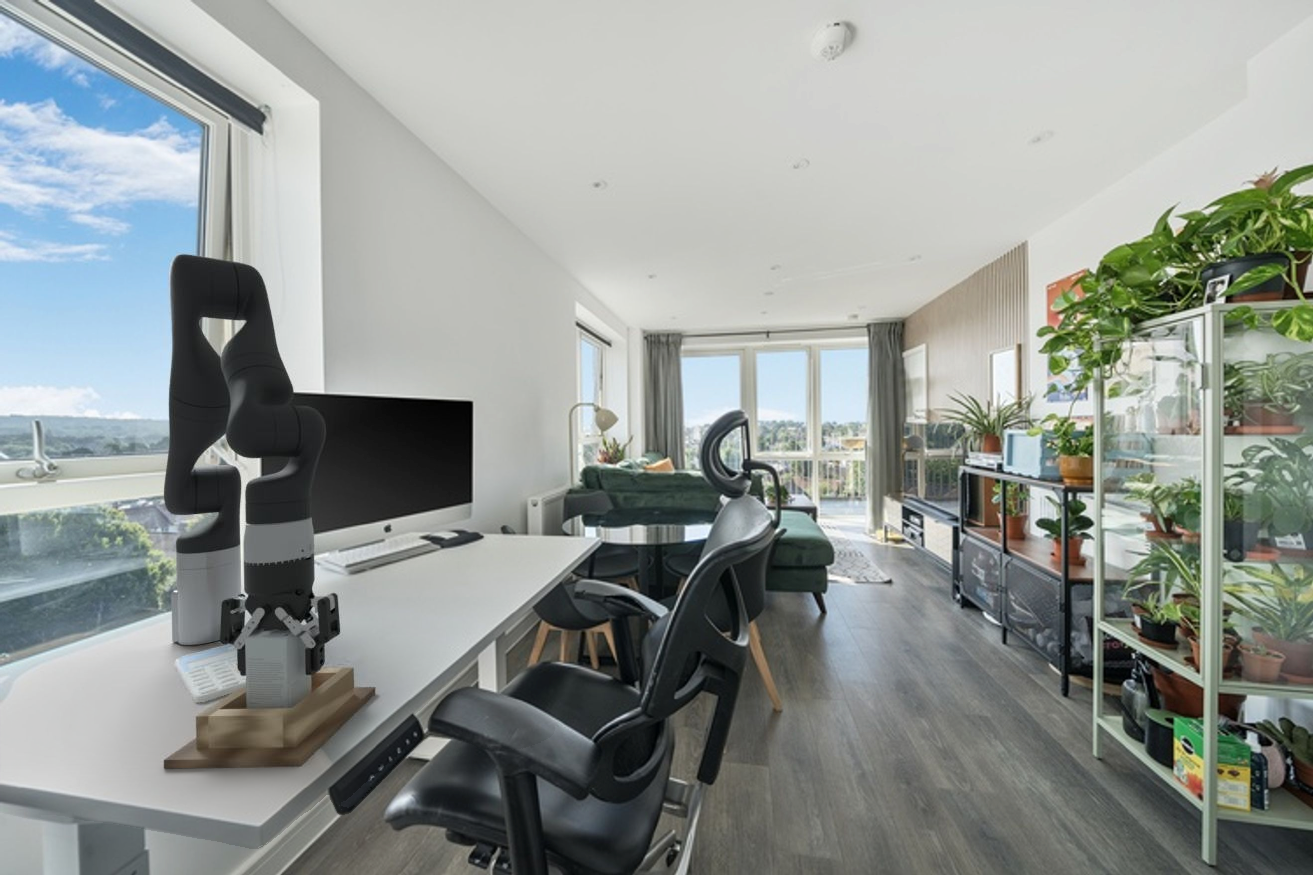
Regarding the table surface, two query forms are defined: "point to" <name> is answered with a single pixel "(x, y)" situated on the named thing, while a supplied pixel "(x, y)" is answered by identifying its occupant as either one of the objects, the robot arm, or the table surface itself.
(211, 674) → the calculator
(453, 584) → the table surface
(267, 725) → the wooden box stand
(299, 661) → the skincare box
